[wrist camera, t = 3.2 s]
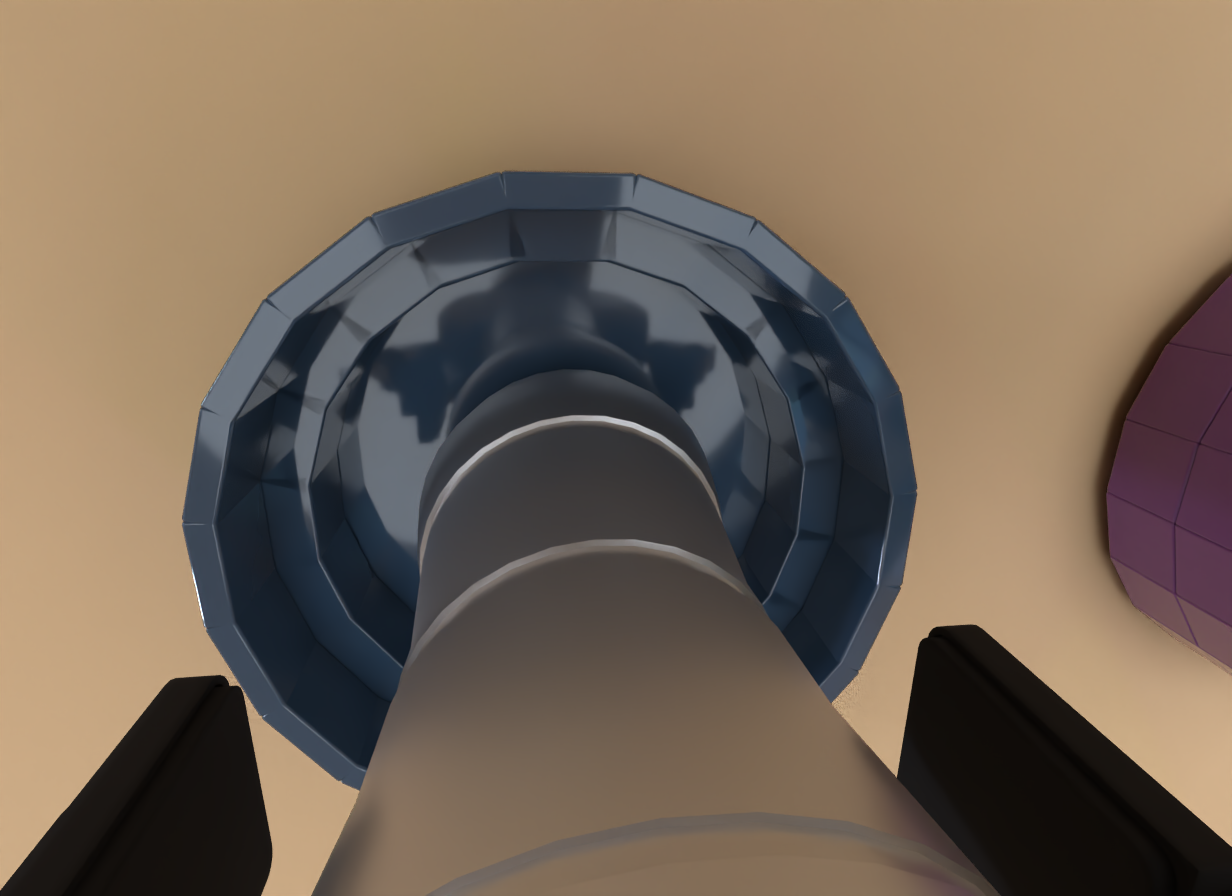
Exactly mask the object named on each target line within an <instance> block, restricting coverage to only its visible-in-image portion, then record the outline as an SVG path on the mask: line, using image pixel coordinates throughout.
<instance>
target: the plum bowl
mask: <svg viewBox="0 0 1232 896" xmlns="http://www.w3.org/2000/svg"><path fill="white" fill-rule="evenodd" d="M1107 491H1108V492H1107V493H1106V500H1107V518H1108V535H1109V552H1110V558H1111V560H1112V562H1113V564H1114V566H1115V568H1116V570H1117V573H1118V575H1119V577H1120V579H1121V581H1122V583H1123V585H1124V587H1125V589H1126V591H1127V593H1128V595H1129V597H1130V599H1131V602H1132V604H1133V605H1134V606H1135V607H1136V608H1137V609H1138V610H1140V611H1141V612H1142V613H1143V614H1144V615H1146V616H1147V617H1148V618H1149V619H1151V620H1152V621H1153V622H1154V623H1156V624H1157V625H1158V626H1159V627H1161V628H1162V629H1163V630H1164V631H1166V632H1167V633H1168V634H1169V635H1171V636H1172V637H1173V638H1175V639H1176V640H1178V641H1179V642H1181V643H1182V644H1184V645H1186V646H1187V647H1189V648H1190V649H1192V650H1193V651H1195V652H1196V653H1198V654H1199V655H1201V656H1202V657H1204V658H1206V659H1207V660H1209V661H1210V662H1212V663H1213V664H1215V665H1216V666H1218V667H1219V668H1221V669H1222V670H1224V671H1226V672H1227V673H1229V674H1230V675H1232V273H1231V274H1230V276H1229V277H1228V278H1227V279H1226V280H1225V281H1224V282H1223V283H1222V284H1221V285H1220V286H1219V287H1218V288H1217V289H1216V291H1215V292H1214V293H1213V294H1212V295H1211V296H1210V297H1209V298H1208V299H1207V300H1206V302H1205V303H1204V304H1203V305H1202V306H1201V307H1200V308H1199V309H1198V310H1197V311H1196V312H1195V314H1194V315H1193V316H1192V317H1191V318H1190V319H1189V320H1188V321H1187V322H1186V323H1185V325H1184V326H1183V327H1182V328H1181V329H1180V330H1179V331H1178V332H1177V333H1176V334H1175V335H1174V337H1173V338H1172V339H1171V340H1170V341H1169V344H1166V346H1165V348H1164V349H1163V351H1162V353H1161V355H1160V356H1159V358H1158V360H1157V362H1156V364H1155V365H1154V367H1153V369H1152V371H1151V373H1150V374H1149V376H1148V378H1147V380H1146V382H1145V383H1144V385H1143V387H1142V389H1141V390H1140V392H1139V394H1138V396H1137V398H1136V399H1135V401H1134V403H1133V405H1132V407H1131V408H1130V410H1129V412H1128V414H1127V415H1126V420H1125V422H1124V425H1123V429H1122V433H1121V437H1120V441H1119V445H1118V448H1117V452H1116V456H1115V460H1114V464H1113V468H1112V472H1111V475H1110V479H1109V483H1108V487H1107Z"/></svg>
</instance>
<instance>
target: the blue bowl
mask: <svg viewBox="0 0 1232 896" xmlns="http://www.w3.org/2000/svg"><path fill="white" fill-rule="evenodd" d="M562 369H571V370H591V371H596V372H600V373H604V374H609V375H613V376H616V377H618V378H621V379H623V380H626V381H628V382H630V383H632V384H634V385H636V386H639V387H641V388H643V389H645V390H647V391H649V392H652V393H653V394H654V395H656V396H657V397H658V398H660V399H661V400H663V401H664V402H665V403H667V404H668V405H669V406H671V407H672V408H673V409H674V410H675V411H676V412H677V413H678V414H679V415H680V416H681V418H682V419H683V420H684V421H685V422H686V423H687V425H688V426H689V427H690V428H691V429H692V431H693V433H694V434H695V436H696V438H697V440H698V442H699V444H700V446H701V448H702V449H703V451H704V453H705V456H706V459H707V462H708V465H709V468H710V471H711V474H712V477H713V481H714V485H715V488H716V492H717V495H718V499H719V503H720V510H721V517H722V524H723V526H724V529H725V531H726V533H727V536H728V538H729V541H730V543H731V546H732V548H733V550H734V553H735V555H736V558H737V560H738V563H739V565H740V567H741V570H742V572H743V575H744V577H745V579H746V582H747V584H748V586H749V587H750V588H751V590H752V591H753V593H754V594H755V596H756V597H757V598H758V600H759V601H760V603H761V604H762V606H763V607H764V609H765V611H766V613H767V615H768V616H769V618H770V620H771V621H772V622H773V623H774V624H775V625H776V626H777V627H778V628H779V630H780V631H781V633H782V634H783V635H784V637H785V638H786V640H787V641H788V643H789V644H790V646H791V647H792V648H793V650H794V651H795V653H796V654H797V656H798V657H799V658H800V660H801V661H802V663H803V664H804V666H805V667H806V668H807V670H808V671H809V673H810V674H811V676H812V677H813V679H814V680H815V681H816V683H817V684H818V686H819V687H820V689H821V690H822V691H823V693H824V694H825V696H826V697H827V699H828V700H829V701H830V703H832V702H833V701H834V700H835V699H836V698H837V696H838V695H839V694H840V693H841V692H842V691H843V690H844V689H845V688H846V687H847V685H848V684H849V683H850V682H851V681H852V680H853V679H854V678H855V677H856V676H857V675H858V673H859V670H860V669H861V667H862V665H863V663H864V661H865V659H866V657H867V655H868V653H869V651H870V649H871V647H872V645H873V643H874V641H875V639H876V637H877V635H878V633H879V631H880V629H881V627H882V625H883V623H884V621H885V619H886V617H887V615H888V613H889V611H890V609H891V607H892V605H893V603H894V601H895V599H896V597H897V595H898V593H899V591H900V589H901V587H900V586H901V585H902V583H903V577H904V571H905V564H906V558H907V552H908V546H909V540H910V534H911V528H912V522H913V516H914V510H915V503H916V497H917V491H916V490H917V484H916V478H915V472H914V466H913V460H912V454H911V448H910V442H909V436H908V430H907V424H906V418H905V412H904V406H903V400H902V394H901V392H900V391H899V386H898V384H897V382H896V381H895V379H894V377H893V375H892V373H891V372H890V370H889V368H888V366H887V365H886V363H885V361H884V359H883V358H882V356H881V354H880V352H879V350H878V349H877V347H876V345H875V343H874V342H873V340H872V338H871V336H870V334H869V333H868V331H867V329H866V327H865V326H864V324H863V322H862V320H861V318H860V317H859V315H858V313H857V311H856V310H855V308H854V306H853V304H852V302H851V301H850V299H849V298H848V297H847V296H846V295H845V293H844V292H843V291H842V290H841V289H840V288H839V287H838V286H836V285H835V284H834V283H833V282H832V281H831V280H829V279H828V278H827V277H826V276H825V275H823V274H822V273H821V272H820V271H819V270H818V269H816V268H815V267H814V266H813V265H812V264H811V263H809V262H808V261H807V260H806V259H805V258H803V257H802V256H801V255H800V254H799V253H798V252H796V251H795V250H794V249H793V248H792V247H791V246H789V245H788V244H787V243H786V242H785V241H784V240H782V239H781V238H780V237H779V236H778V235H776V234H775V233H774V232H773V231H772V230H771V229H769V228H768V227H767V226H766V225H765V224H764V223H762V222H761V221H760V220H756V218H755V217H753V216H751V215H748V214H745V213H743V212H740V211H737V210H735V209H732V208H729V207H727V206H724V205H721V204H719V203H716V202H713V201H711V200H708V199H705V198H703V197H700V196H697V195H695V194H692V193H689V192H687V191H684V190H681V189H679V188H676V187H673V186H671V185H668V184H665V183H663V182H660V181H657V180H654V179H652V178H649V177H646V176H644V175H641V174H637V175H636V174H634V173H610V172H552V171H504V172H502V174H501V173H500V172H495V173H492V174H489V175H486V176H483V177H480V178H477V179H474V180H471V181H468V182H465V183H462V184H459V185H456V186H453V187H450V188H447V189H444V190H441V191H438V192H435V193H432V194H429V195H426V196H423V197H420V198H417V199H414V200H411V201H408V202H405V203H402V204H399V205H396V206H393V207H390V208H387V209H384V210H381V211H378V212H375V213H373V214H372V215H371V216H368V217H366V218H364V219H363V220H362V221H361V222H359V223H358V224H357V225H356V226H354V227H353V228H352V229H351V230H349V231H348V232H347V233H345V234H344V235H343V236H342V237H340V238H339V239H338V240H337V241H335V242H334V243H333V244H332V245H330V246H329V247H328V248H327V249H325V250H324V251H323V252H321V253H320V254H319V255H318V256H316V257H315V258H314V259H313V260H311V261H310V262H309V263H308V264H306V265H305V266H304V267H303V268H301V269H300V270H299V271H297V272H296V273H295V274H294V275H292V276H291V277H290V278H289V279H287V280H286V281H285V282H284V283H282V284H281V285H280V286H279V287H277V288H276V289H275V290H273V291H272V292H271V293H270V294H268V296H267V298H266V299H264V300H263V301H262V302H261V304H260V306H259V307H258V309H257V311H256V312H255V314H254V316H253V317H252V319H251V321H250V322H249V324H248V326H247V327H246V329H245V331H244V332H243V334H242V336H241V338H240V339H239V341H238V343H237V344H236V346H235V348H234V349H233V351H232V353H231V354H230V356H229V358H228V359H227V361H226V363H225V364H224V366H223V368H222V369H221V371H220V373H219V374H218V376H217V378H216V379H215V381H214V383H213V384H212V386H211V388H210V390H209V391H208V393H207V395H206V396H205V398H204V400H203V401H202V403H201V408H200V411H199V417H198V423H197V430H196V436H195V442H194V448H193V454H192V460H191V466H190V473H189V479H188V485H187V491H186V497H185V503H184V509H183V515H182V520H183V523H182V527H183V531H184V536H185V541H186V545H187V550H188V555H189V559H190V564H191V568H192V573H193V578H194V582H195V587H196V592H197V596H198V601H199V606H200V610H201V615H202V619H203V624H204V627H205V628H206V631H207V633H208V635H209V636H210V638H211V640H212V641H213V643H214V644H215V646H216V648H217V649H218V651H219V652H220V654H221V655H222V657H223V659H224V660H225V662H226V663H227V665H228V666H229V668H230V670H231V671H232V673H233V674H234V676H235V678H236V679H237V681H238V682H239V684H240V685H241V687H242V689H243V690H244V692H245V693H246V695H247V696H248V698H249V700H250V701H251V703H252V704H253V706H254V708H255V709H256V711H257V712H258V714H259V715H260V716H262V718H263V720H264V721H265V722H267V723H268V724H269V725H270V726H272V727H273V728H274V729H275V730H276V731H278V732H279V733H280V734H281V735H283V736H284V737H285V738H286V739H287V740H289V741H290V742H291V743H292V744H293V745H295V746H296V747H297V748H298V749H300V750H301V751H302V752H303V753H304V754H306V755H307V756H308V757H309V758H311V759H312V760H313V761H314V762H315V763H317V764H318V765H319V766H320V767H321V768H323V769H324V770H325V771H326V772H328V773H329V774H330V775H331V776H332V777H334V778H335V779H336V780H337V781H341V782H342V783H343V784H345V785H347V786H350V787H352V788H354V789H357V790H359V791H360V789H361V786H362V783H363V780H364V778H365V775H366V772H367V769H368V766H369V763H370V761H371V758H372V755H373V752H374V749H375V747H376V744H377V741H378V738H379V735H380V732H381V730H382V727H383V724H384V721H385V718H386V716H387V713H388V710H389V707H390V704H391V702H392V700H393V698H394V696H395V694H396V692H397V689H398V685H399V681H400V676H401V673H402V671H403V668H404V665H405V662H406V660H407V657H408V654H409V651H410V649H411V643H412V635H413V628H414V620H415V613H416V606H417V598H418V591H419V583H420V573H419V565H418V520H419V504H420V499H421V495H422V490H423V486H424V482H425V477H426V475H427V473H428V470H429V468H430V466H431V464H432V462H433V460H434V457H435V455H436V453H437V451H438V449H439V448H440V447H441V445H442V444H443V443H444V441H445V440H446V439H447V437H448V436H449V434H450V433H451V432H452V430H453V429H454V428H455V426H456V425H457V424H459V423H460V422H461V421H462V420H463V419H464V418H465V417H466V416H467V415H468V414H470V413H471V412H472V411H473V410H474V409H475V408H476V407H477V406H478V405H480V404H481V403H482V402H483V401H484V400H485V399H487V398H488V397H489V396H491V395H493V394H494V393H496V392H497V391H499V390H501V389H502V388H504V387H506V386H507V385H509V384H511V383H513V382H516V381H518V380H521V379H524V378H526V377H529V376H532V375H535V374H538V373H544V372H550V371H556V370H562Z"/></svg>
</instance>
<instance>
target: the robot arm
mask: <svg viewBox="0 0 1232 896" xmlns="http://www.w3.org/2000/svg"><path fill="white" fill-rule="evenodd" d="M897 779H898V780H899V781H900V782H901V783H902V785H903V786H904V787H905V788H906V789H907V790H908V791H909V792H910V794H911V795H912V796H913V797H914V798H915V799H916V800H917V801H918V803H919V804H920V805H921V806H922V807H923V808H924V809H925V811H926V812H927V813H928V814H929V815H930V816H931V817H932V818H933V820H934V821H935V822H936V823H937V824H938V825H939V826H940V827H941V829H942V830H943V831H944V832H945V833H946V834H947V835H948V837H949V838H950V839H951V840H952V841H953V842H954V843H955V844H956V846H957V847H958V848H959V849H960V850H961V851H962V852H963V853H964V855H965V856H966V857H967V858H968V859H969V860H970V861H971V863H972V864H973V865H974V866H975V867H976V868H977V869H978V870H979V872H980V873H981V874H982V875H983V876H984V877H985V878H986V879H987V881H988V882H989V883H990V884H991V885H992V886H993V887H994V889H995V890H996V891H997V892H998V893H999V894H1000V895H1001V896H1232V847H1231V846H1230V845H1229V844H1228V843H1226V842H1225V841H1224V840H1223V839H1222V838H1221V837H1220V836H1218V835H1217V834H1216V833H1215V832H1214V831H1213V830H1212V829H1210V828H1209V827H1208V826H1207V825H1206V824H1205V823H1204V822H1202V821H1201V820H1200V819H1199V818H1198V817H1197V816H1196V815H1194V814H1193V813H1192V812H1191V811H1190V810H1189V809H1188V808H1186V807H1185V806H1184V805H1183V804H1182V803H1181V802H1180V801H1178V800H1177V799H1176V798H1175V797H1174V796H1173V795H1172V794H1170V793H1169V792H1168V791H1167V790H1166V789H1165V788H1164V787H1162V786H1161V785H1160V784H1159V783H1158V782H1157V781H1156V780H1154V779H1153V778H1152V777H1151V776H1150V775H1149V774H1148V773H1146V772H1145V771H1144V770H1143V769H1142V768H1141V767H1140V766H1138V765H1137V764H1136V763H1135V762H1134V761H1133V760H1132V759H1130V758H1129V757H1128V756H1127V755H1126V754H1125V753H1124V752H1122V751H1121V750H1120V749H1119V748H1118V747H1117V746H1116V745H1114V744H1113V743H1112V742H1111V741H1110V740H1109V739H1108V738H1106V737H1105V736H1104V735H1103V734H1102V733H1101V732H1100V731H1098V730H1097V729H1096V728H1095V727H1094V726H1093V725H1092V724H1090V723H1089V722H1088V721H1087V720H1086V719H1085V718H1084V717H1082V716H1081V715H1080V714H1079V713H1078V712H1077V711H1076V710H1074V709H1073V708H1072V707H1071V706H1070V705H1069V704H1068V703H1066V702H1065V701H1064V700H1063V699H1062V698H1061V697H1060V696H1058V695H1057V694H1056V693H1055V692H1054V691H1053V690H1052V689H1050V688H1049V687H1048V686H1047V685H1046V684H1045V683H1044V682H1042V681H1041V680H1040V679H1039V678H1038V677H1037V676H1036V675H1034V674H1033V673H1032V672H1031V671H1030V670H1029V669H1028V668H1027V667H1025V666H1024V665H1023V664H1022V663H1021V662H1020V661H1019V660H1017V659H1016V658H1015V657H1014V656H1013V655H1012V654H1011V653H1009V652H1008V651H1007V650H1006V649H1005V648H1004V647H1003V646H1001V645H1000V644H999V643H998V642H997V641H996V640H995V639H993V638H992V637H991V636H990V635H989V634H988V633H987V632H985V631H984V630H983V629H982V628H980V627H979V626H977V625H971V624H970V625H956V626H941V627H935V628H933V629H932V630H931V632H930V633H929V636H928V638H924V639H922V641H921V642H920V644H919V647H918V653H917V659H916V665H915V671H914V677H913V683H912V690H911V696H910V702H909V708H908V714H907V720H906V726H905V732H904V738H903V744H902V750H901V756H900V762H899V768H898V774H897ZM271 863H272V842H271V836H270V831H269V826H268V821H267V815H266V810H265V805H264V800H263V794H262V789H261V784H260V779H259V773H258V768H257V763H256V758H255V752H254V747H253V742H252V737H251V731H250V726H249V721H248V716H247V710H246V705H245V700H244V695H243V692H242V690H241V688H240V687H239V686H229V683H228V681H227V679H226V678H225V677H224V676H221V675H215V676H200V677H185V678H175V679H172V680H170V681H169V682H168V683H167V684H166V685H165V686H164V687H163V689H162V690H161V691H160V692H159V694H158V695H157V696H156V697H155V699H154V700H153V701H152V702H151V704H150V705H149V706H148V707H147V709H146V710H145V711H144V712H143V714H142V715H141V716H140V717H139V719H138V720H137V721H136V723H135V724H134V725H133V726H132V728H131V729H130V730H129V731H128V733H127V734H126V735H125V736H124V738H123V739H122V740H121V741H120V743H119V744H118V745H117V746H116V748H115V749H114V750H113V751H112V753H111V754H110V755H109V757H108V758H107V759H106V760H105V762H104V763H103V764H102V765H101V767H100V768H99V769H98V770H97V772H96V773H95V774H94V775H93V777H92V778H91V779H90V780H89V782H88V783H87V784H86V785H85V787H84V788H83V789H82V791H81V792H80V793H79V794H78V796H77V797H76V798H75V799H74V801H73V802H72V803H71V804H70V806H69V807H68V808H67V809H66V810H65V811H64V812H63V813H62V814H61V815H60V816H59V818H58V819H57V820H56V821H55V823H54V824H53V825H52V826H51V828H50V829H49V830H48V831H47V833H46V834H45V835H44V836H43V838H42V839H41V840H40V841H39V843H38V844H37V845H36V846H35V848H34V849H33V850H32V851H31V853H30V854H29V855H28V857H27V858H26V859H25V860H24V862H23V863H22V864H21V865H20V867H19V868H18V869H17V870H16V872H15V873H14V874H13V875H12V877H11V878H10V879H9V880H8V882H7V883H6V884H5V885H4V887H3V888H2V889H1V890H0V896H261V894H262V892H263V889H264V887H265V884H266V882H267V879H268V876H269V873H270V868H271Z"/></svg>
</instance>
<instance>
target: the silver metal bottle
mask: <svg viewBox="0 0 1232 896" xmlns="http://www.w3.org/2000/svg"><path fill="white" fill-rule="evenodd" d="M418 565H419V573H420V583H419V591H418V598H417V606H416V613H415V620H414V628H413V635H412V643H411V649H410V651H409V654H408V657H407V660H406V662H405V665H404V668H403V671H402V673H401V676H400V681H399V685H398V689H397V692H396V694H395V696H394V698H393V700H392V702H391V704H390V707H389V710H388V713H387V716H386V718H385V721H384V724H383V727H382V730H381V732H380V735H379V738H378V741H377V744H376V747H375V749H374V752H373V755H372V758H371V761H370V763H369V766H368V769H367V772H366V775H365V778H364V780H363V783H362V786H361V789H360V792H359V794H358V797H357V800H356V803H355V805H354V807H353V809H352V811H351V813H350V815H349V818H348V820H347V822H346V824H345V826H344V828H343V830H342V832H341V834H340V836H339V838H338V841H337V843H336V845H335V847H334V849H333V851H332V853H331V855H330V857H329V859H328V862H327V864H326V866H325V868H324V870H323V872H322V874H321V876H320V878H319V880H318V882H317V885H316V887H315V889H314V891H313V893H312V895H311V896H1001V895H1000V894H999V893H998V892H997V891H996V890H995V889H994V887H993V886H992V885H991V884H990V883H989V882H988V881H987V879H986V878H985V877H984V876H983V875H982V874H981V873H980V872H979V870H978V869H977V868H976V867H975V866H974V865H973V864H972V863H971V861H970V860H969V859H968V858H967V857H966V856H965V855H964V853H963V852H962V851H961V850H960V849H959V848H958V847H957V846H956V844H955V843H954V842H953V841H952V840H951V839H950V838H949V837H948V835H947V834H946V833H945V832H944V831H943V830H942V829H941V827H940V826H939V825H938V824H937V823H936V822H935V821H934V820H933V818H932V817H931V816H930V815H929V814H928V813H927V812H926V811H925V809H924V808H923V807H922V806H921V805H920V804H919V803H918V801H917V800H916V799H915V798H914V797H913V796H912V795H911V794H910V792H909V791H908V790H907V789H906V788H905V787H904V786H903V785H902V783H901V782H900V781H899V780H898V779H897V778H896V777H895V775H894V774H893V773H892V772H891V771H890V770H889V769H888V768H887V766H886V765H885V764H884V763H883V762H882V761H881V760H880V759H879V757H878V756H877V755H876V754H875V753H874V752H873V751H872V749H871V748H870V747H869V746H868V745H867V744H866V743H865V742H864V740H863V739H862V738H861V737H860V736H859V735H858V734H857V733H856V731H855V730H854V729H853V728H852V727H851V726H850V725H849V723H848V722H847V721H846V720H845V719H844V718H843V717H842V716H841V714H840V713H839V712H838V711H837V710H836V709H835V708H834V707H833V705H832V704H831V703H830V701H829V700H828V699H827V697H826V696H825V694H824V693H823V691H822V690H821V689H820V687H819V686H818V684H817V683H816V681H815V680H814V679H813V677H812V676H811V674H810V673H809V671H808V670H807V668H806V667H805V666H804V664H803V663H802V661H801V660H800V658H799V657H798V656H797V654H796V653H795V651H794V650H793V648H792V647H791V646H790V644H789V643H788V641H787V640H786V638H785V637H784V635H783V634H782V633H781V631H780V630H779V628H778V627H777V626H776V625H775V624H774V623H773V622H772V621H771V620H770V618H769V616H768V615H767V613H766V611H765V609H764V607H763V606H762V604H761V603H760V601H759V600H758V598H757V597H756V596H755V594H754V593H753V591H752V590H751V588H750V587H749V586H748V584H747V582H746V579H745V577H744V575H743V572H742V570H741V567H740V565H739V563H738V560H737V558H736V555H735V553H734V550H733V548H732V546H731V543H730V541H729V538H728V536H727V533H726V531H725V529H724V526H723V524H722V517H721V510H720V503H719V499H718V495H717V492H716V488H715V485H714V481H713V477H712V474H711V471H710V468H709V465H708V462H707V459H706V456H705V453H704V451H703V449H702V448H701V446H700V444H699V442H698V440H697V438H696V436H695V434H694V433H693V431H692V429H691V428H690V427H689V426H688V425H687V423H686V422H685V421H684V420H683V419H682V418H681V416H680V415H679V414H678V413H677V412H676V411H675V410H674V409H673V408H672V407H671V406H669V405H668V404H667V403H665V402H664V401H663V400H661V399H660V398H658V397H657V396H656V395H654V394H653V393H652V392H649V391H647V390H645V389H643V388H641V387H639V386H636V385H634V384H632V383H630V382H628V381H626V380H623V379H621V378H618V377H616V376H613V375H609V374H604V373H600V372H596V371H591V370H571V369H562V370H556V371H550V372H544V373H538V374H535V375H532V376H529V377H526V378H524V379H521V380H518V381H516V382H513V383H511V384H509V385H507V386H506V387H504V388H502V389H501V390H499V391H497V392H496V393H494V394H493V395H491V396H489V397H488V398H487V399H485V400H484V401H483V402H482V403H481V404H480V405H478V406H477V407H476V408H475V409H474V410H473V411H472V412H471V413H470V414H468V415H467V416H466V417H465V418H464V419H463V420H462V421H461V422H460V423H459V424H457V425H456V426H455V428H454V429H453V430H452V432H451V433H450V434H449V436H448V437H447V439H446V440H445V441H444V443H443V444H442V445H441V447H440V448H439V449H438V451H437V453H436V455H435V457H434V460H433V462H432V464H431V466H430V468H429V470H428V473H427V475H426V477H425V482H424V486H423V490H422V495H421V499H420V504H419V520H418Z"/></svg>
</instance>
